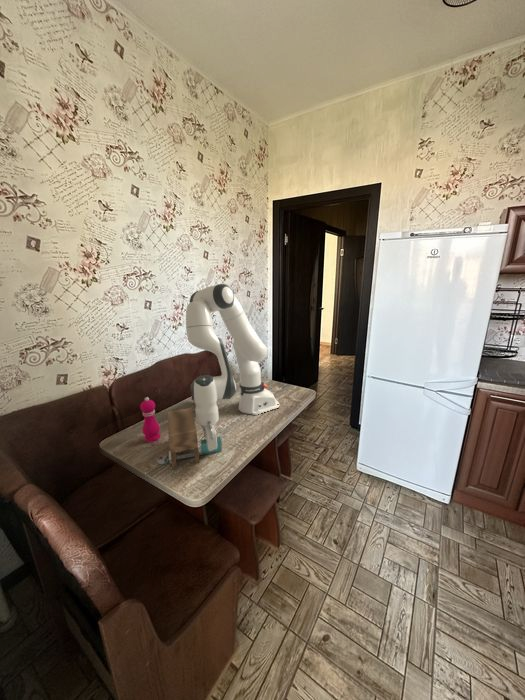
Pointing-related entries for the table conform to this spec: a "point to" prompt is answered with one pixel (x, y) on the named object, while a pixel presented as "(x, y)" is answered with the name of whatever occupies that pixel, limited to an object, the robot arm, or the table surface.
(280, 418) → the table surface
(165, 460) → the silver flat dome
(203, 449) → the block
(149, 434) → the pepper mill
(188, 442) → the wooden bench
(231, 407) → the table surface
